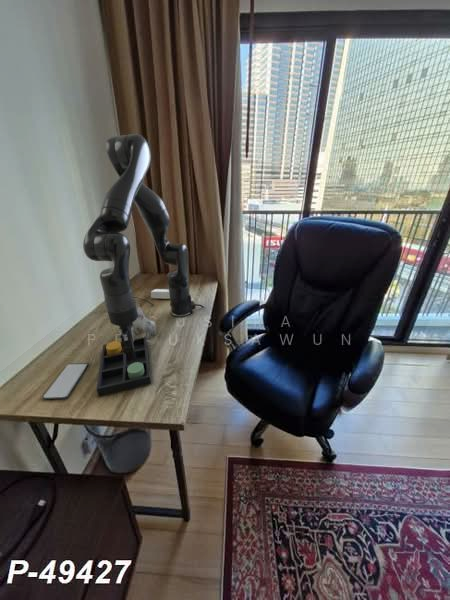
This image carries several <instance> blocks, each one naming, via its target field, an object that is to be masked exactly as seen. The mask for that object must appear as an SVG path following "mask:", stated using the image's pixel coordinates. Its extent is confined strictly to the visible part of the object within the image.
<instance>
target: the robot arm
mask: <svg viewBox="0 0 450 600" xmlns="http://www.w3.org/2000/svg"><path fill="white" fill-rule="evenodd" d="M105 150H106V155H107V157H108V160H109V162H110V164H111V167H112V168H113V170H114V171H115V173H116V175H117V176H118V179H116V181H115V182H114V183H113V184H112V185H111V186H110V187H109V188H108V190H107V192H106V193H105V195H104V199H103V201H102V204H101V208H100V213H99V214H98V216H97V217H96V218H95V220H94V221H93V223H92V224H91V226H90V227H89V228H88V230H87V232H86V233H85V235H84V237H83V242H82V248H83V252H84V254H85V256H86V257H87V258H88V259H89V260H91V261H95V262H113V266H112V267H108V268H105V269H103V270H102V271H100V273H99V280H100V281H99V282H100V285H101V288H102V291H103V298H104V303H105V307H106V310H107V311H106V312H107V314H108V318H109V322H110V323H111V324H112V325H113V326H117V327H118V333H119V338H120V342H122V345H123V349H124V353H125V354H127V358H128V360H129V361H131V360H135V359H136V355H135V351H134V345H133V343H135V339H136V338H135V333H134V332H135V326H134V321H135V320H136V319H137V317H138V313H137V305H136V298H134V297H135V295H134V292H133V290H132V285H131V281H130V280H131V279H130V276H129V275H130V274H129V269H130V257H131V244H130V241H129V239H128V237H127V236H126V235H125V234H124V233H122V232H124V231H126V230H127V229H128V227H129V224H130V219H131V215H132V210H133V206H134V204H135V205H136V208H137V210H138V212H139V214H140V217H141V218H142V220H143V222H144V224H145V226H146V228H147V229H148V231H149V233H150V235H151V238H152V240H153V241H154V244H155V247H156V250H157V252H158V255H159V257H160V260H161V261H162V262H163V263H164V264H166V265H171V266H176V267H177V268H176V269H173V270H171V271H169V272H168V273H167V275H166V278H167V285H168V290H169V294H170V299H169V302H170V303H169V306H170V312H171V315H172V316H174V317H177V318H183V317H187V316H188V315H190V314H191V315H192V314H193V310H196V307H201V308H202V309H204V308H205V306H203V304H199V303H195V301H194V300H192V295H191V293H190V281H189V279H190V278H189V272H190V270H189V268H190V267H189V251H188V250H189V249H188V247H187V245H186V244H185V243H176V242H175V243H174V242H170V241H169V239H168V237H167V231H168V230H169V227H170V221H171V219H170V218H171V217H170V214H169V211H168V210H167V207H166V205H165V202H164V200H163V199H162V198H161V197H160V196H159V194H157V193H156V192H154V190H152V189H151V188H150V187H148V186H147V185H146V184H145V183H144V179H145V178H146V175H147V173H148V171H149V169H150V166H151V161H152V154H151V148H150V145H149V143H148V141H147V140H146V138H145V137H144V136H143V135H142V134H139V133H130V134H123V135H115V136H111V137H108V138H107V139H106V142H105ZM126 346H129V347H126Z"/></svg>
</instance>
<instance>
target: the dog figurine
mask: <svg viewBox="0 0 450 600" xmlns="http://www.w3.org/2000/svg"><path fill="white" fill-rule="evenodd" d="M136 309H137V313H138V317H137V319H136V320H135V321H134V322H133V324H134V329H135V333H136V335H139V334H140V330H142V331H143V332H144V337H146V340H149V335H150V332H151V333H152V336H156V335H157V333H156V324H155V321H153V320H151V319H149V318H148V317H147V316H145V315H144V312H143V310H142V307H140V306H138V307H137V306H136Z"/></svg>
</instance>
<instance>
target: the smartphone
mask: <svg viewBox="0 0 450 600" xmlns="http://www.w3.org/2000/svg"><path fill="white" fill-rule="evenodd" d="M88 366H89V364H88V363H86V362H85V363H81V362H80V363H67V364H66V366H65V367H64V368H63V370H62V372H61V373H60V374H59V375H58V377H56V379H55V380H54V382H53V383H52V384H51V386H50V387H49V388H48V390H47V391H46V392H45V393H44V395H43V396H42V398H43V400H52V399H53V400H54V399H55V400H56V399H66V398H68V396H69V395H70V393H71V392H72V390H73V388H74V387H75V386H76V384H77V382H78V381H79V379H80V378H81V377H82V375H83V373H85V370H86V368H87V367H88Z"/></svg>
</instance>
